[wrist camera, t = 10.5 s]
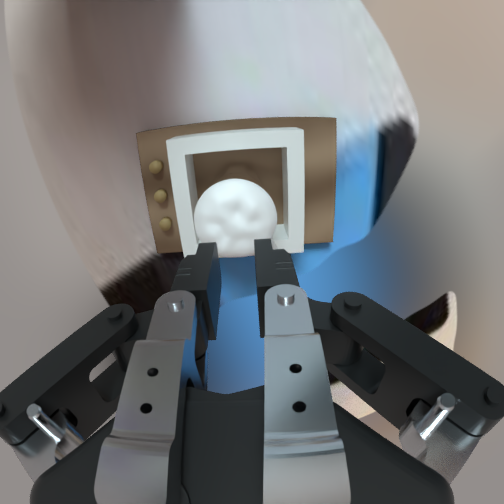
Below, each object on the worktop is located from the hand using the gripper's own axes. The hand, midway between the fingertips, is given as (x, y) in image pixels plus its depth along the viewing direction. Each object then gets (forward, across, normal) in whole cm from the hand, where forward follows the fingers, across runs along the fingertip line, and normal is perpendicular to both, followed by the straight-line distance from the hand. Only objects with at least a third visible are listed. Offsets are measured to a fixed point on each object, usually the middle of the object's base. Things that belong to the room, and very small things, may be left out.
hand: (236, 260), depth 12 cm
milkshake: (+12, 0, 0) cm, 12 cm away
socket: (+12, 0, 0) cm, 12 cm away
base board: (+13, 0, 0) cm, 13 cm away
